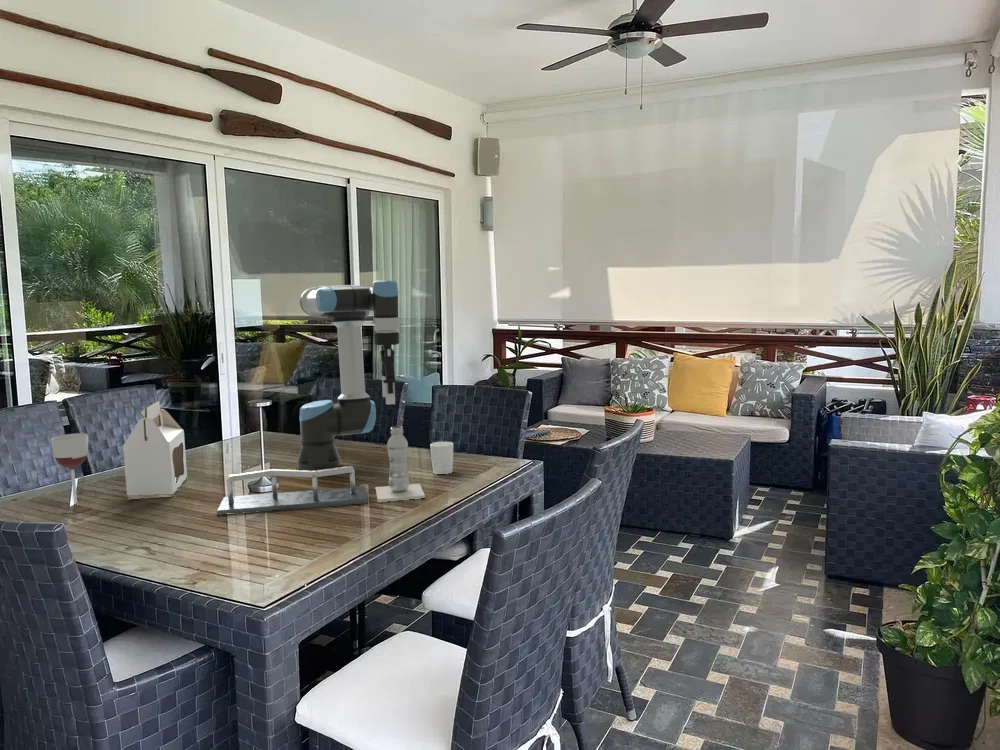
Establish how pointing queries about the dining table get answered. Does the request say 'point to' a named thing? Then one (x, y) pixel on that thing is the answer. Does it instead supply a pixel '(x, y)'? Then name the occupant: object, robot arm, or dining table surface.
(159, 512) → the dining table surface
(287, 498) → the grey platform with railing
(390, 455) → the plastic bottle
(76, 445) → the wineglass
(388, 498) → the pad
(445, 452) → the white cup
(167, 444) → the gable box
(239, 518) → the dining table surface
